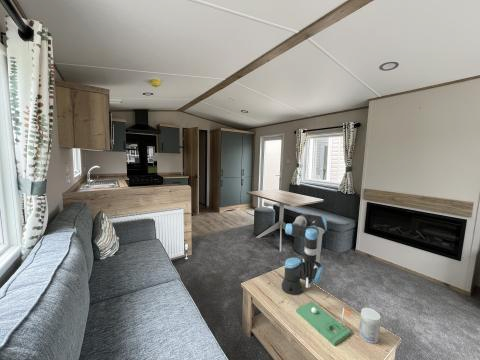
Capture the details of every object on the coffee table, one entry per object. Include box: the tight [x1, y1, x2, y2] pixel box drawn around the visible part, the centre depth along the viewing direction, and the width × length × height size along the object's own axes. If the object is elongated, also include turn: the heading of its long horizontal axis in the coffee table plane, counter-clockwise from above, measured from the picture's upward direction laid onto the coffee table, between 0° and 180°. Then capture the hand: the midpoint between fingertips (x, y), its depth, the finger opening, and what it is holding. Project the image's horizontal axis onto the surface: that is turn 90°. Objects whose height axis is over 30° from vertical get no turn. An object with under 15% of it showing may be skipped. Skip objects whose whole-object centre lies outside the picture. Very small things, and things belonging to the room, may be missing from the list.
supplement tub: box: [358, 307, 382, 344], centre depth 119 cm, size 10×10×15 cm
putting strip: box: [295, 301, 352, 346], centre depth 129 cm, size 28×15×14 cm, turn 31°
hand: (308, 286), depth 138 cm, fingers closed
